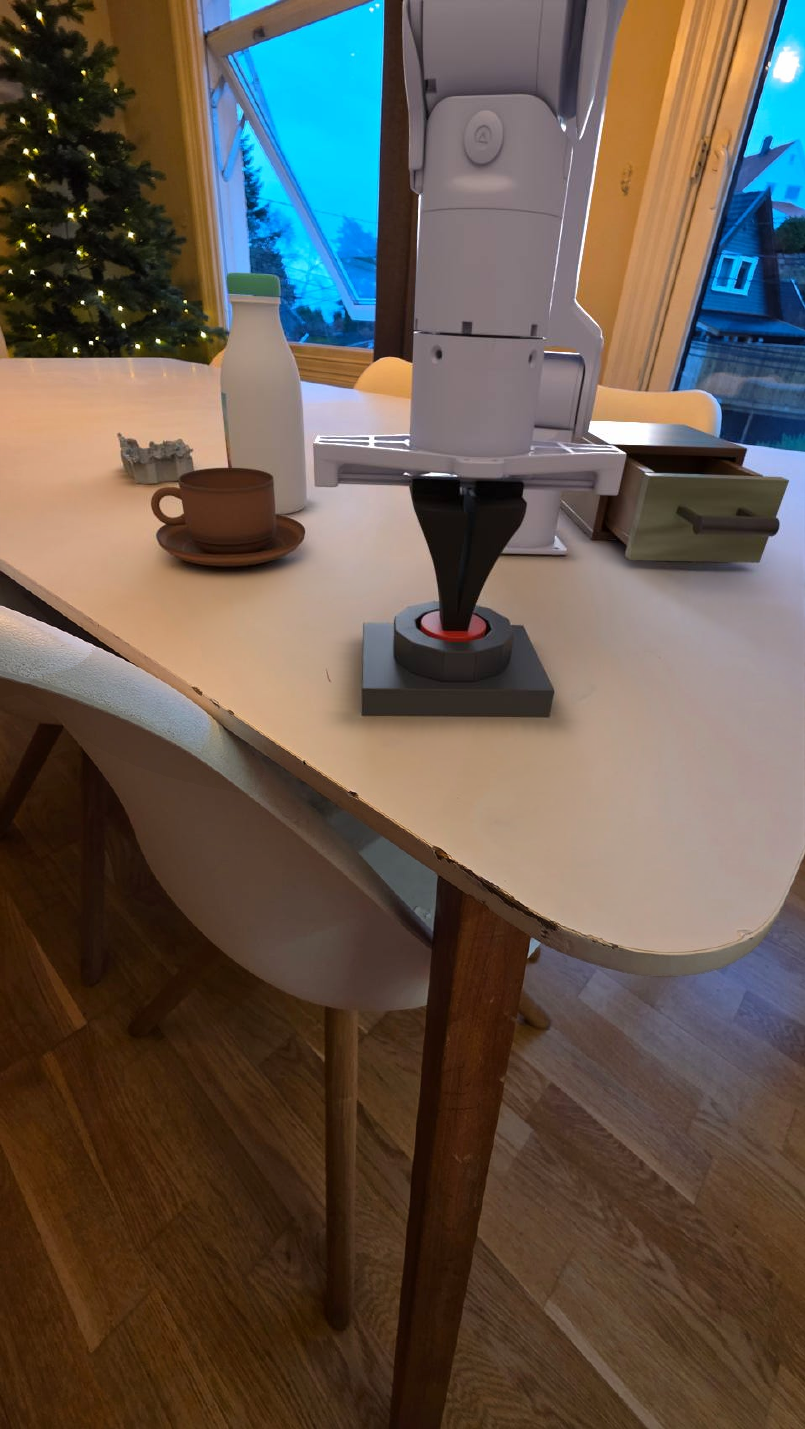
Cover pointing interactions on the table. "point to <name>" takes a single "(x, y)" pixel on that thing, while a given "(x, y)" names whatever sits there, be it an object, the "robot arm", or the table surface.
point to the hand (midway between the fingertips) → (453, 623)
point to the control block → (452, 670)
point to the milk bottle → (263, 391)
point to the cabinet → (639, 440)
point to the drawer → (693, 509)
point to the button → (434, 630)
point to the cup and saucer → (226, 519)
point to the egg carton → (155, 460)
